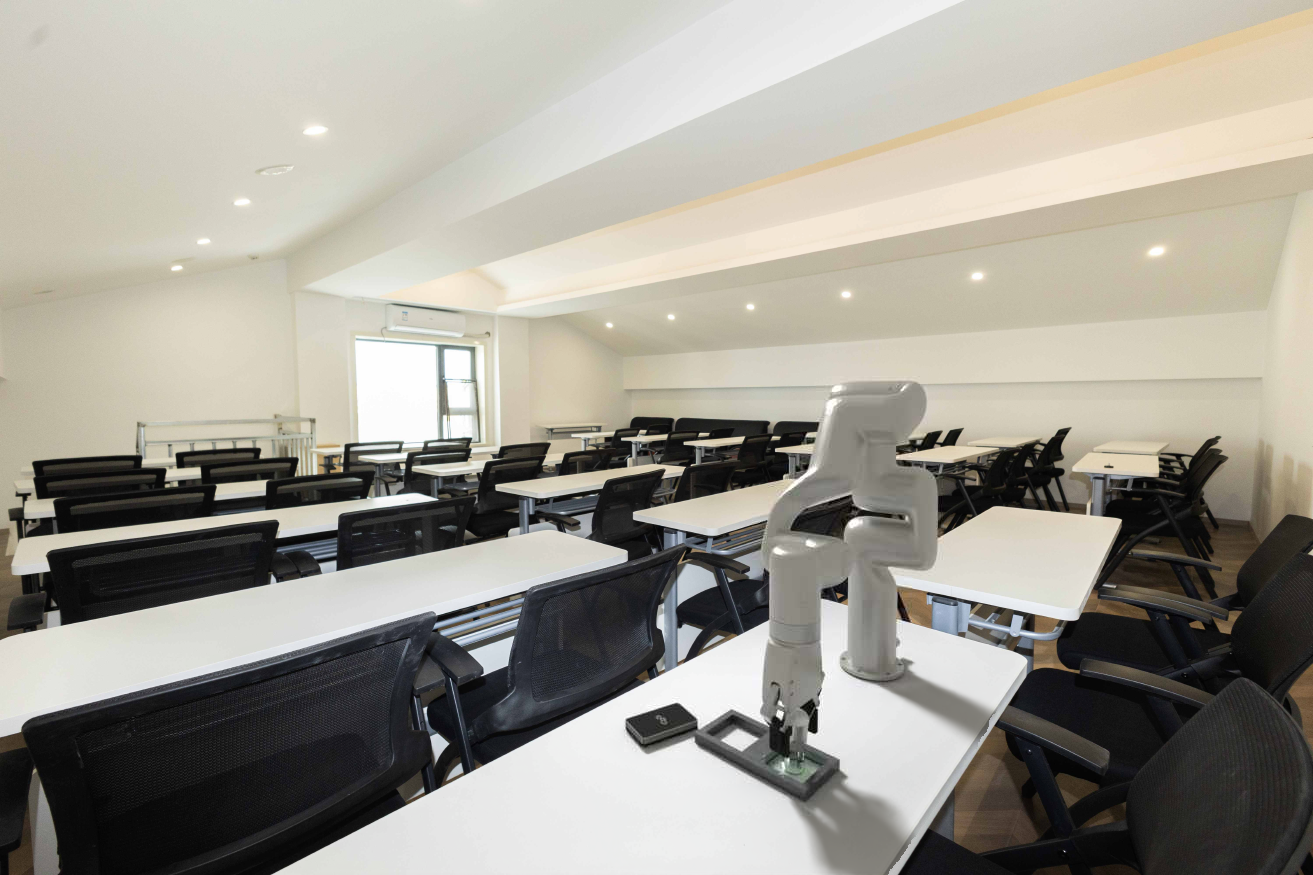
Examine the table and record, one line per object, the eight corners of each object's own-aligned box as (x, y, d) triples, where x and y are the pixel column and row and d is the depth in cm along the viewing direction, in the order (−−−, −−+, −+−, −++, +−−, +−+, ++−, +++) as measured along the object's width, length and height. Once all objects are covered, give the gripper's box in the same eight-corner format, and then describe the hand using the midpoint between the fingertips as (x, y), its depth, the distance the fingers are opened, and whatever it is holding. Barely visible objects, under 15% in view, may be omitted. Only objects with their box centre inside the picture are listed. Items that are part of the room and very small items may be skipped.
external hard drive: (699, 731, 102) (699, 720, 101) (642, 751, 96) (642, 739, 96) (678, 712, 108) (677, 701, 107) (623, 730, 102) (623, 719, 102)
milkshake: (814, 779, 88) (815, 715, 87) (777, 774, 89) (778, 710, 88) (813, 761, 92) (814, 699, 91) (778, 756, 93) (779, 695, 92)
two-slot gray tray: (731, 717, 105) (731, 708, 105) (839, 769, 90) (839, 759, 90) (694, 741, 98) (694, 732, 98) (805, 801, 83) (805, 791, 83)
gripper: (803, 605, 97) (802, 709, 99) (739, 638, 85) (739, 755, 86) (846, 617, 92) (844, 726, 93) (784, 654, 80) (783, 779, 81)
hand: (794, 739), depth 90 cm, fingers open, 7 cm apart
